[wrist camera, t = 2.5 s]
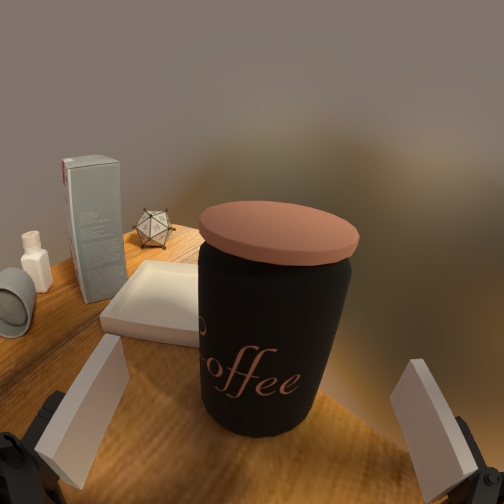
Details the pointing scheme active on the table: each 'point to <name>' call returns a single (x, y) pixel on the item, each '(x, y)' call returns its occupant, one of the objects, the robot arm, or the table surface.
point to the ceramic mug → (16, 302)
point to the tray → (157, 305)
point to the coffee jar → (268, 310)
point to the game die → (154, 228)
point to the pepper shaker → (36, 262)
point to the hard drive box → (95, 224)
